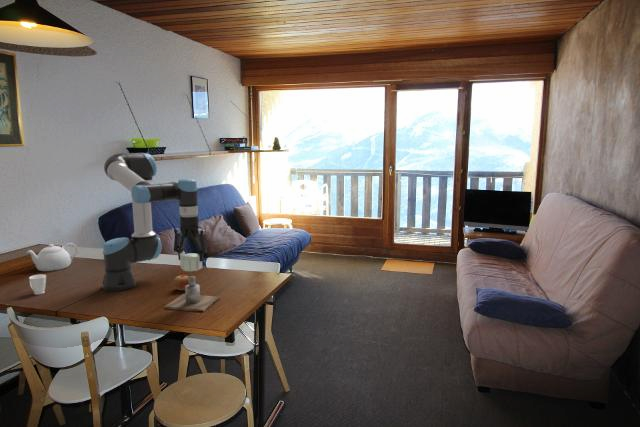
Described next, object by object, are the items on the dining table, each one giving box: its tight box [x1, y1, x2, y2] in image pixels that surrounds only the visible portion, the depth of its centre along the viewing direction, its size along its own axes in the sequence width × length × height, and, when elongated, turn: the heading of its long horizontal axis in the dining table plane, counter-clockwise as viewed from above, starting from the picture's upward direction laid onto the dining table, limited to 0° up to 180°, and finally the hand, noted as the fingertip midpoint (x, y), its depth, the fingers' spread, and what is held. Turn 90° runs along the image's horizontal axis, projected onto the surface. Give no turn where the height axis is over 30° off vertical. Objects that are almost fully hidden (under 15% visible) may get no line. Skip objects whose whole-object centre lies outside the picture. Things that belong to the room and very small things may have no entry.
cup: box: [28, 273, 47, 295], centre depth 206 cm, size 7×10×8 cm
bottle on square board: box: [164, 275, 221, 313], centre depth 191 cm, size 18×16×12 cm
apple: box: [173, 274, 190, 291], centre depth 210 cm, size 8×8×8 cm
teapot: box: [25, 242, 79, 272], centre depth 248 cm, size 19×18×14 cm
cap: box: [181, 252, 200, 272], centre depth 189 cm, size 7×7×6 cm
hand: (191, 267), depth 189 cm, fingers closed on cap, 7 cm apart
